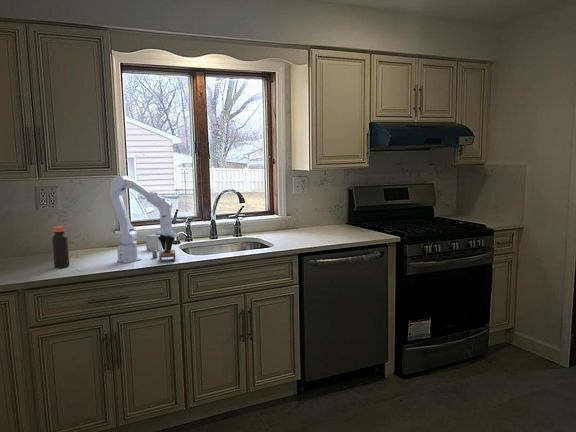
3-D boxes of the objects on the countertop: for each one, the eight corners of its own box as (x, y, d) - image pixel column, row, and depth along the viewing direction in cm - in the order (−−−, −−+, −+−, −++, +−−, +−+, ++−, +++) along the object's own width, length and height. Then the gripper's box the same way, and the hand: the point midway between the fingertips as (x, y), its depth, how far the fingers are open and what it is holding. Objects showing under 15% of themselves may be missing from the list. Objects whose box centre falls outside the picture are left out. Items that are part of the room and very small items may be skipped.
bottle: (71, 265, 235) (69, 225, 233) (65, 268, 229) (63, 227, 226) (58, 265, 235) (55, 225, 233) (51, 268, 228) (48, 228, 226)
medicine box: (162, 249, 273) (162, 234, 272) (158, 251, 269) (157, 236, 268) (150, 248, 275) (149, 234, 274) (146, 250, 271) (145, 235, 270)
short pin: (154, 258, 249) (154, 251, 248) (151, 258, 250) (151, 250, 250) (158, 257, 251) (158, 250, 250) (155, 257, 252) (155, 250, 252)
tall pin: (167, 257, 243) (166, 241, 242) (163, 256, 244) (163, 241, 243) (171, 256, 245) (170, 241, 244) (167, 255, 246) (167, 240, 245)
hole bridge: (175, 261, 241) (175, 253, 241) (159, 262, 239) (159, 253, 239) (175, 258, 250) (174, 249, 249) (159, 258, 248) (159, 250, 247)
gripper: (181, 224, 241) (182, 250, 243) (162, 222, 250) (164, 247, 251) (170, 225, 236) (171, 252, 237) (152, 223, 244) (153, 249, 246)
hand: (167, 250), depth 244 cm, fingers closed on tall pin, 3 cm apart
